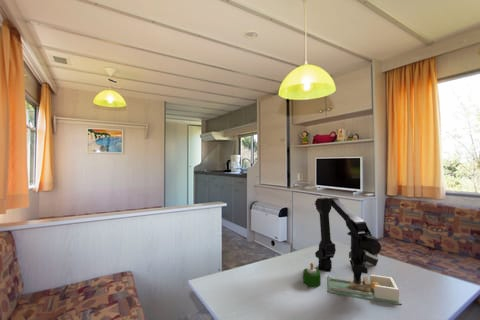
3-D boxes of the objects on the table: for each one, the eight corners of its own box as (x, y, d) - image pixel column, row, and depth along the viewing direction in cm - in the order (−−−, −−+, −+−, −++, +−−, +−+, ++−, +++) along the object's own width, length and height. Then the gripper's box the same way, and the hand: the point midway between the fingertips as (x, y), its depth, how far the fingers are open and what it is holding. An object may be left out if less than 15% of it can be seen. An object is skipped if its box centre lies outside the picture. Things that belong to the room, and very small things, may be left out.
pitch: (328, 292, 111) (328, 280, 111) (327, 277, 125) (327, 267, 125) (401, 304, 101) (401, 292, 101) (392, 287, 116) (392, 275, 116)
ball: (381, 285, 109) (381, 294, 109) (379, 281, 112) (379, 289, 112) (371, 284, 110) (371, 292, 110) (369, 279, 114) (370, 288, 114)
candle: (321, 288, 115) (321, 267, 115) (303, 286, 116) (303, 265, 116) (319, 279, 123) (319, 260, 123) (302, 278, 125) (302, 258, 125)
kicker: (351, 290, 111) (350, 272, 111) (349, 282, 118) (349, 265, 118) (370, 293, 109) (370, 274, 109) (367, 285, 115) (367, 268, 115)
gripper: (380, 256, 102) (380, 293, 102) (373, 242, 120) (373, 273, 120) (352, 253, 106) (352, 288, 106) (348, 239, 124) (348, 270, 124)
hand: (357, 279), depth 114 cm, fingers closed on kicker, 3 cm apart
